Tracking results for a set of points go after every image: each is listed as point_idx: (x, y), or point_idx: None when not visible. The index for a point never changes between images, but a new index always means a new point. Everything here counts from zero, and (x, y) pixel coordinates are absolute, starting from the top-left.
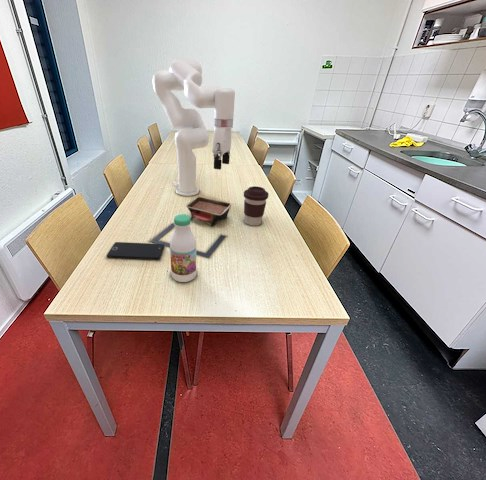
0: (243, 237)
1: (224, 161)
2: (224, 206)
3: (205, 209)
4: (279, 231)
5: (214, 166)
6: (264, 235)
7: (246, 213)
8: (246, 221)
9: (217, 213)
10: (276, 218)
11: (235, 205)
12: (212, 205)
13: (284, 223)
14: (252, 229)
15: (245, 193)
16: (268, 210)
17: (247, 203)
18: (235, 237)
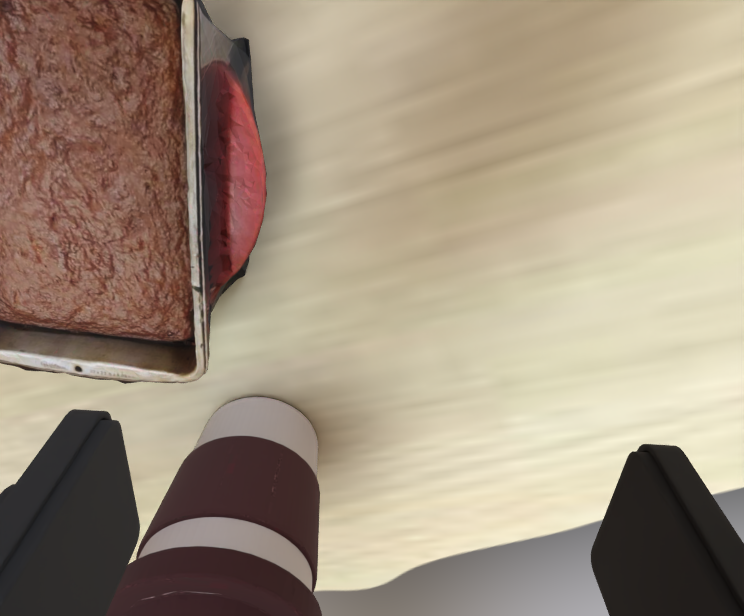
0: (41, 428)
1: (634, 532)
2: (181, 312)
3: (7, 167)
4: None
5: (52, 457)
6: (138, 508)
7: (180, 468)
8: (206, 425)
9: (12, 297)
10: (383, 532)
11: (511, 276)
12: (124, 207)
13: (335, 567)
14: (167, 451)
15: (131, 593)
16: (490, 486)
17: (142, 541)
18: (9, 392)
